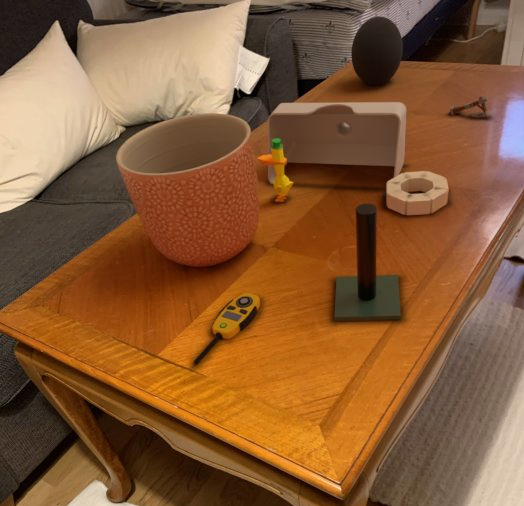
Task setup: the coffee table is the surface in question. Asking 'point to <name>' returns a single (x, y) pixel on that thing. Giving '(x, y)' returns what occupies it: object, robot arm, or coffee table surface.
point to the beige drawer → (340, 133)
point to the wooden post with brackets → (471, 105)
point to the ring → (417, 203)
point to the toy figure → (278, 169)
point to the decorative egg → (377, 51)
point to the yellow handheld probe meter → (233, 319)
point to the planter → (194, 186)
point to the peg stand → (367, 278)
